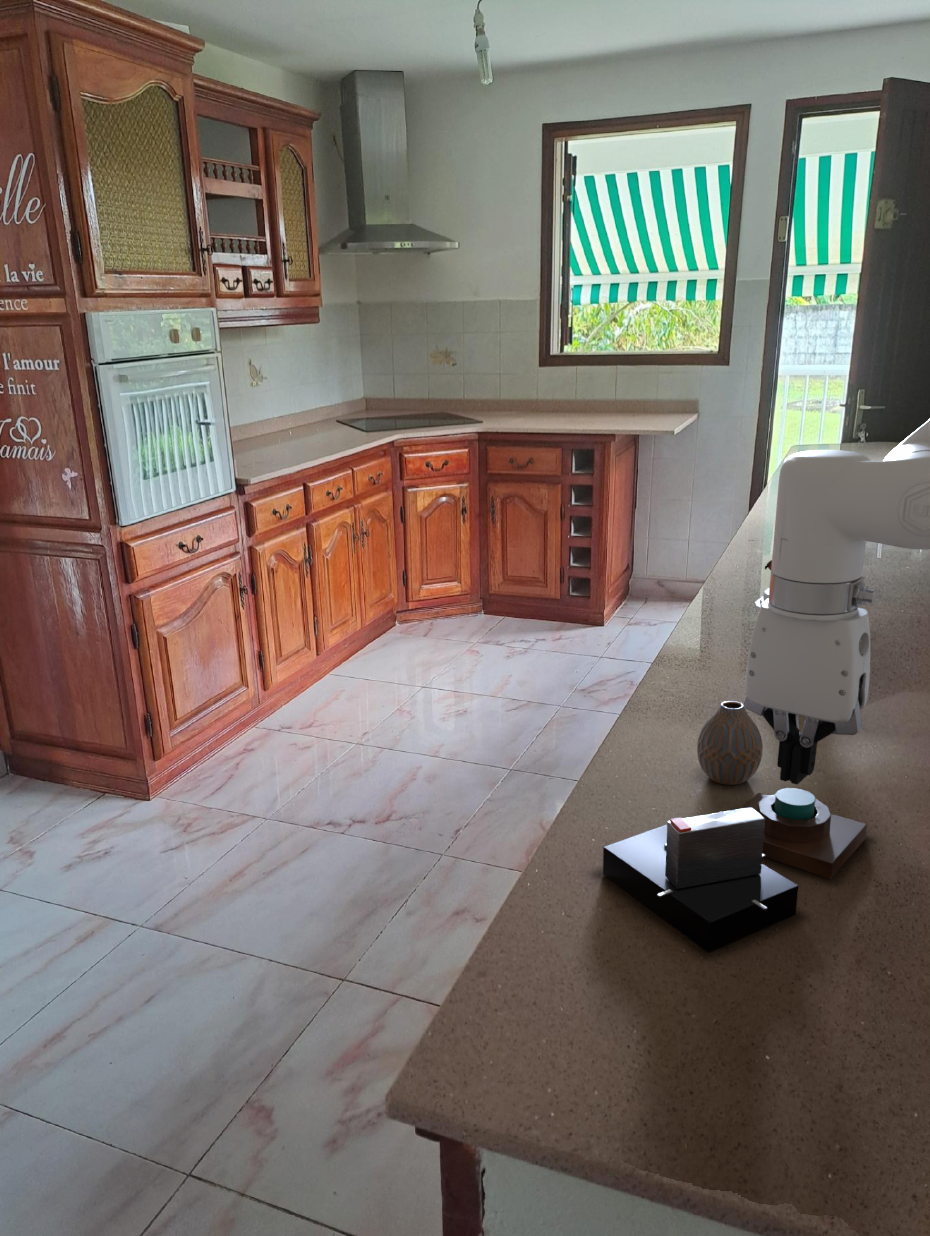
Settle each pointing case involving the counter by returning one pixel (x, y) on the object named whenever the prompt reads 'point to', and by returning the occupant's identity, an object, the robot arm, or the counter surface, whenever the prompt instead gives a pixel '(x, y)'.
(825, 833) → the brown square base
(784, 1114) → the counter surface
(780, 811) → the button
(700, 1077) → the counter surface
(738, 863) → the metal block
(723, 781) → the vase
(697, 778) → the counter surface
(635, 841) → the black rectangular base
